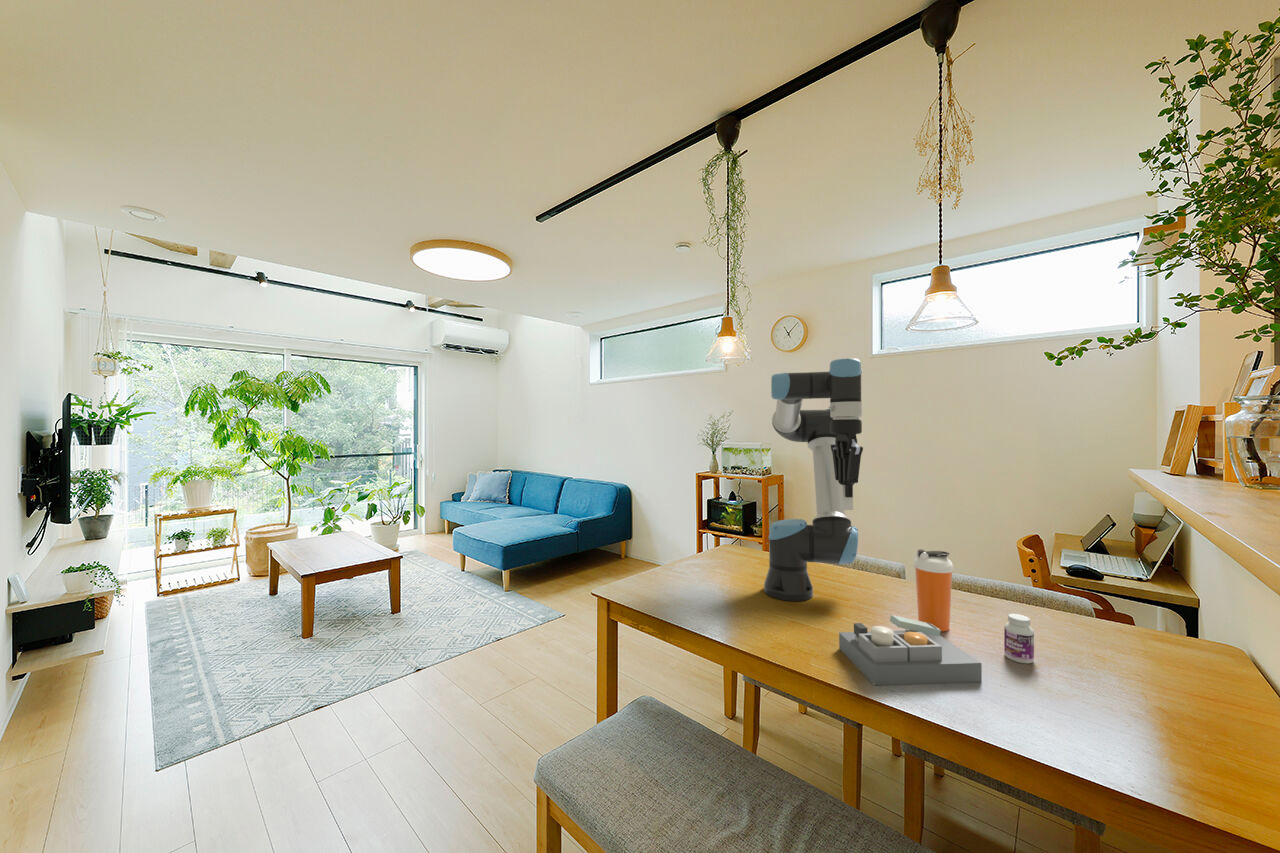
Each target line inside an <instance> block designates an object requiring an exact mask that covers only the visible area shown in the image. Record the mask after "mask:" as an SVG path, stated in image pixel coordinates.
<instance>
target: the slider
mask: <svg viewBox="0 0 1280 853" xmlns="http://www.w3.org/2000/svg"><path fill="white" fill-rule="evenodd" d="M853 632H854V634H855V635H856V636H857V637H859V634H866V633H868V632H869V631H868V627H867V626H866V625H864V624H863V623H862V622H854V623H853Z"/></svg>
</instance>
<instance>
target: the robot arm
mask: <svg viewBox="0 0 1280 853" xmlns="http://www.w3.org/2000/svg"><path fill="white" fill-rule="evenodd" d="M862 373H863V371H862V363H861V360H859V359H858V358H839V359H838V358H837V359H834V360H832V361H830V364H829V371H812V372H811V371H809V372H781V373H774V374H773V375H772V376H771V378H770V379H771V381H770V383H771V386H770V388H771V392H770V394H771V398H772V399H773V400H776V408H775V411H774V413H773V415H772V418H771V422H772V423H771V424H772V426H773V429H774V431H775V432H776V433H777V434H778V435H779V436H781V437H782V438H783V439H785V440H787V441H790V442H795V443H807V448H808V449H809V450H810V451H812V459H813V472H814V475H813V477H814V487H815V488H814V489H815V490H814V492H815V505H816V507H815V509H816V516H815V517H814V518H813V519H812V524H808V523H807V521H806V520H804V519H801V518H790V519H789V518H788V519H787V518H786V519H781V520H777V521H774V522H772V523H771V525H770V526H769V529H768V530H769V531H768V532H769V533H768V541H769V546H768V547H769V553H768V555H769V559H768V560H769V561H768V563H769V568H768V570H767V574H766V576H765V580H764V583H763V591H764V593H765V594H766V595H767V596H769V597H771V598H773V599H778V600H781V601H789V602H790V601H791V602H802V601H806V600H807V601H808V600H810V599H812V597H813V596H814V587H813V584H812V581H811V578H810V575H809V572H808V563H818V564H820V563H821V564H835V565H838V566H839V565H850V564H853V563H854V562H855V560H856V558H857V554H858V548H859V531H858V527H856V526H854V525H852V521H851V518H849V517H848V516H846V511H854V485H855V484H858V483H859V475H860V468H861V467H860V466H861V458H862V453H863V451H864V447H863V446H859V445H858V438H857V435H861V434H862V432H863V431H862V430H863V425H862V424H863V423H862V420H861V419H860V418H861V417H863V412H862V411H863V408H862V405H863V404H862ZM804 399H805V400H807V399H809V400H811V399H829V402H830V403H829V407H828V408H826V409H801V408H802V404H803V400H804Z"/></svg>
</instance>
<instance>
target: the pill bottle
mask: <svg viewBox="0 0 1280 853" xmlns="http://www.w3.org/2000/svg"><path fill="white" fill-rule="evenodd" d="M1007 621H1008V622H1006V623H1005V624H1004V629H1003V630H1004V634H1003V636H1004V641H1003V642H1004V644H1003V648H1004V649H1003V650H1004V656H1005V657H1006V658H1007V659H1009V660H1011V661H1014V662H1017V663H1020V664H1031V663H1034V661H1035V631H1034V629H1033V628H1032V627H1031V618H1030V617H1028V616H1026V615H1023V614H1019V613H1018V614H1017V613H1009V614H1008V616H1007Z"/></svg>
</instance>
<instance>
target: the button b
mask: <svg viewBox="0 0 1280 853" xmlns="http://www.w3.org/2000/svg"><path fill="white" fill-rule="evenodd" d="M904 640H905V641H906V642H907V643H909V644H910V645H927V637H926V636H925V635H923V634H920V633H917V632H905V633H904Z"/></svg>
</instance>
